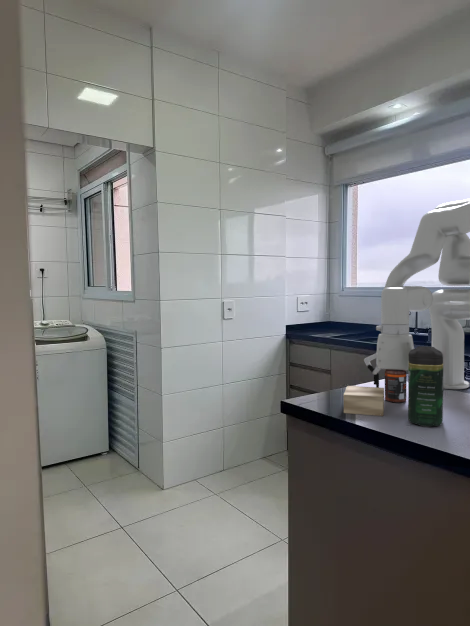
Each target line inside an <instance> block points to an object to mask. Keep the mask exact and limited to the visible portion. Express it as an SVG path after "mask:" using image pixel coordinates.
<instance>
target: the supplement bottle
mask: <svg viewBox="0 0 470 626" xmlns="http://www.w3.org/2000/svg"><path fill="white" fill-rule="evenodd" d="M384 400H385V401H387V402H390V403H396V404H397V403H398V404H399V403H404V402H406V401H407V370H387V369H384Z"/></svg>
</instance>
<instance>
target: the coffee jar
mask: <svg viewBox="0 0 470 626" xmlns="http://www.w3.org/2000/svg"><path fill="white" fill-rule="evenodd" d="M408 356H409V360H408V361H409V362H408V370H407V371H408V373H407V374H408V380H407V382H408V383H407V384H408V385H407V386H408V389H407V390H408V392H407V396H408V397H407V399H408V400H407V406H408V407H407V418H408V421H409V423H412V424H415V425H418V426H420V427H421V426H422V427H429V428H430V427H434V426H436V427H439V426H441V425H442V424H443V421H444V420H443V419H444V389H443V354H442V352H441V351H439V350H437V349H435V348H434V347H432V346H427V345H426V346H422V345H419V346H417V347H414V349H412V350H411V351H410V352H409V355H408Z"/></svg>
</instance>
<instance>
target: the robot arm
mask: <svg viewBox="0 0 470 626" xmlns="http://www.w3.org/2000/svg"><path fill="white" fill-rule="evenodd" d="M468 233H470V198H466V199H463V200H455V201H449V202H446V203H445V202H444V203H442V204H439V205H437V206H436V207H435V208H433V209H432V210H431V211H428V212H425V214H423V215H422V217H421V218H420V221H419V225H418V227H417V230H416V233H415V236H414V239H413V242H412V246H411V248H410V251H409V253H408V254H407V255H406V256H405V257H404V258H403V259H402V260H400V262H398V264H397V265H396V266H395V267H394V268H393V269H391V271H390V273H389V275H388V276H387V279H386V280H385V281H386V282H385V285H384V288H383V289H382V290H381V294H380V295H381V297H380V299H381V301H380V302H381V304H380V305H381V307H380V308H381V309H380V310H381V312H380V313H381V315H380V316H381V317H380V318H381V322H380V323H381V324H379V325H376V327H375V330H376V331H379V332H380V333H379V334H378V336H377V341H376V342H377V343H376V352H375V353H374V354H371V355H369V356H367V357H365V358H364V359H363V361H364V364H365V365H366V368H367V369H368V370H369V371H370V372H371V374H372V375H373V385H375V387H377V388H380V373H379V372H380V371H381V370H386V369H387V370H405V371H408V362H409V361H408V360H409V356H408V355H409V352H410V351H411V350H412V349H415V346H414V339H413V335H412V334H410V312H413V313H414V312H415V313H417V312H418V313H419V312H424V311H427V310H429V316H430V321H431V322H430V324H431V325H430V326H431V347H434V348H435V349H437V350H439V351H441V352H442V354H443V390H464V389H467V388H469V387H470V382H469V381H467V380H465V332H464V329H463V326H462V325H461V323H460V322H459V320H468V321H469V320H470V288H466V289H465V288H451V289H449V288H447V289H438V290H436V291H433V292H432V291H431V290H430V289H429V288H427V287H425V286H420V285H419V286H417V285H412V286H411V285H405V283H406V282H407V281H408V280H409V279H410V278H411V277H413V276H414V275H416V274H418V273H419V272H422V271H424V270H427V269H428V268H430V267H432V266H434V265H436V264H437V263H438V262H439V260H440V262H439V268H438V281H439V283H441V284H442V285H443V286H448V287H470V237H469V236H468ZM373 360H375V361H376V366H375V367H374V366H373V365H372V364H371V361H373Z"/></svg>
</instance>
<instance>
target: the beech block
mask: <svg viewBox="0 0 470 626" xmlns="http://www.w3.org/2000/svg"><path fill="white" fill-rule="evenodd" d="M384 411H385V387H379V388H377V387H376V386H375V387H373V386H359V385H358V386H355V385H347V386H346V388H345V391H344V393H343V414H351V415H352V414H353V415H365V416H378V417H384Z"/></svg>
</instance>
